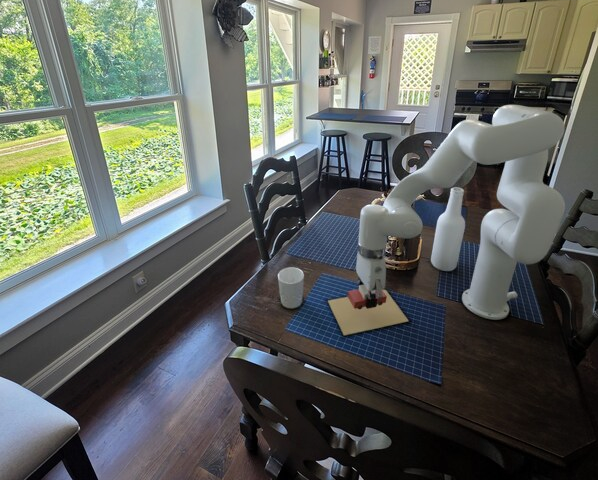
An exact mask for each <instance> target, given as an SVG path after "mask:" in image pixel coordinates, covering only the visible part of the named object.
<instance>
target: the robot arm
mask: <svg viewBox="0 0 598 480" xmlns="http://www.w3.org/2000/svg"><path fill="white" fill-rule="evenodd" d="M564 133H565V122H564V120H563V119H562V117H560V116H559V115H557V114H556V113H554V112H551V111H549V110H542V109H539V108H534V107H530V106H525V105H521V104H506V105H502V106H500V107H499V108H497V109H496V111H495V112H494V114H493V116H492V120H491V123H487V122H484V121H481V120H478V119H464V120H462V121H459V122H458V123H457V124H456V125H455V126H454V127H453V128H452V130H451V131H450V132H449V134H447V136H446V138H445V139H444V140H443V141H442V142H441V144H440V145H439V146H438V147H437V149H436V150H435V151H434V153H433V154H432V155H431V156H430V158H429V159H428V160H427V161H426V163H425V164H423V166H422V167H420V168H419V169H417V170H414V171H413V172H412V173H410V174H409V175H407V176H405V177H404V178H402V179H401V180H399V182H398V183H397V184H395V186H394V187H393V188H392V190H391V191H390V193H389V194H388V195H387V197H386V198H385V199H384V202H383V204H382V205H380V204H374V203H373V204H372V203H371V204H367V205H365V206H363V207H362V208H361V209H360V216H359V226H358V227H359V229H358V242H357V255H356V263H355V264H356V265H355V271H356V274H357V276H358V278H357V283H358V284H357V289H359V285H363V284H364V285H365V287H366V288H367V289H368V296H367V299H366V308H367V309H369V308H374V307H376V306H377V299H378V298H382V297H383V296H382V291H381V289H382V290H385V288H386V278H387V264H386V263H387V262H386V258H385V257H386V252H387V251H386V250H387V242H388V241H387V236H391V237H394V238H398V239H413V238H415V237H418V236H419V235H420V234H421V233H422V231H423V228H424V226H423V224H424V223H423V220H422V219H421V217H420V216H419V215H418V213H417V212H416V210H414V209H413V207H412V205H413V203H414V202H415V201H416V200H417V199H418V197H420V196H421V195H422V194H424V193H425V192H427V191H429V190H433V189H449V188H453V186H455V185H456V183H457V182H458V181H459V179H461V177H462V175H464V173H465V172H466V171H467V170H468V168H469V167H471V165H472V164H473V163H474V162H476V163H478V164H481V165H487V166H488V165H489V166H490V165H498V164H501V163H504V167H503V170H502V173H501V177H500V180H499V183H498V187H497V191H496V198H497V201H498V202H499V204H501V205H502V206H503V207H504V208H494V209H492V210H490V211H488V212H487V213H486V214H485V215H484V216H483V218H482V221H481V223H480V242H479V249H478V253H477V257H476V262H475V266H474V269H473V274H472V278H471V283H470V286H469V288H468V289H466V290H464V291H463V293H462V295H461V301H462V304H463V305H464V307H466V308H467V310H469V311H470V312H471V313H473V314H474V315H477V316H478V317H481V318H484V319H488V320H494V321H497V320H503V319H505V318H507V317H508V315H509V313H510V307H509V304H508V303H507V302H508V301H510V300H514V299H517V298H518V293H517V292H516V291H509V290H510V288H511V284H512V283H511V282H512V280H513V277H514V274H515V270H516V266H517V265H518V263H519V264H522V265H534V264H536V263H539V262H540V261H541V260H543V259H544V258H545V257H546V256H547V255H548V253H549V251H550V249H551V247H552V245H553V242H554V241H555V238H556V235H557V233H558V230H559V228H560V225H561V222H562V220H563V217H564V214H565V211H566V210H565V209H566V203H565V199H564V197H563V196H562V194H561V193H560V192H559V191H558V190H556V189H555V188H553V187H552V186H549V185H547V184H546V183H544V181H543V180H544V176H545V172H546V168H547V164H548V160H549V150H550V149H551V148H553V147H554V146H555V145H556V144H558V143H559V142H560V140H561V139H562V138H563V136H564ZM373 290H375V294H371V291H373Z"/></svg>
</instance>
